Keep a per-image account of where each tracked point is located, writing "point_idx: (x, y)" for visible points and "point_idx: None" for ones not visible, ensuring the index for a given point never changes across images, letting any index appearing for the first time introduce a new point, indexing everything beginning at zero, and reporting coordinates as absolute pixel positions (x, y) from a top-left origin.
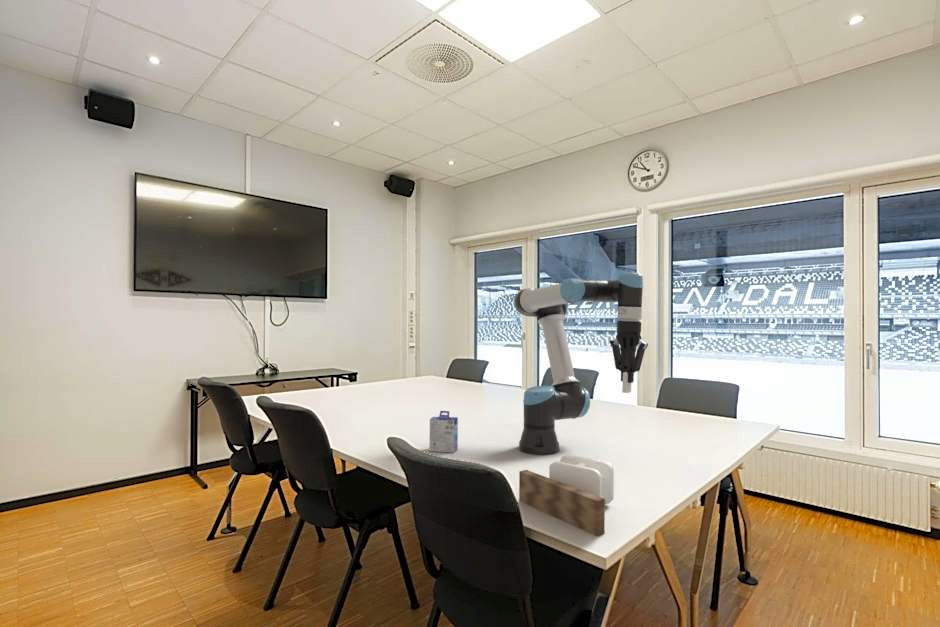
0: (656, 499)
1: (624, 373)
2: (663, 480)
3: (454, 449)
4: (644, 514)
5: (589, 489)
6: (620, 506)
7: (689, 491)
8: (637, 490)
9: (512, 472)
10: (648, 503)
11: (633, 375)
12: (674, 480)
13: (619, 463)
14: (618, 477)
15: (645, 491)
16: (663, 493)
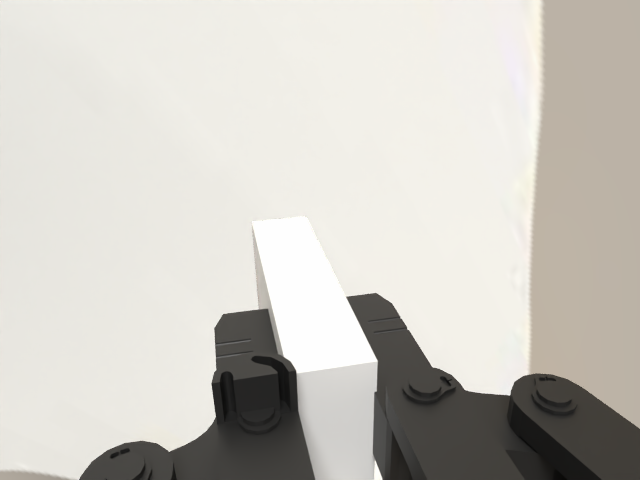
0: (478, 265)
1: (322, 477)
2: (413, 82)
3: None
4: (499, 367)
5: None
6: None
7: (527, 114)
8: (402, 252)
9: (29, 462)
10: (475, 307)
11: (423, 359)
12: (443, 43)
13: (148, 30)
14: (282, 202)
15: (424, 238)
16: (472, 205)
